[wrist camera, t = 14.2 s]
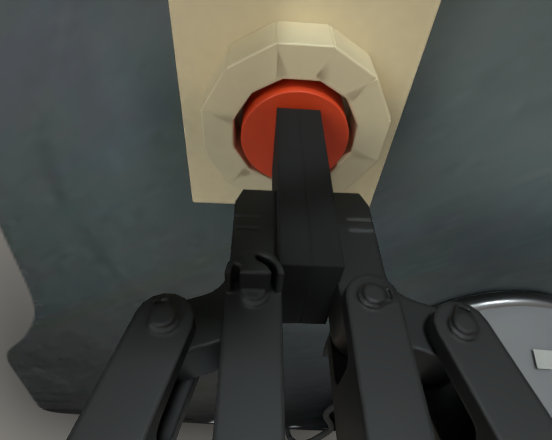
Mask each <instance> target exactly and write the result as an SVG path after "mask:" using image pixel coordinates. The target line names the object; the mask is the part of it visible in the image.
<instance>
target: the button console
mask: <svg viewBox="0 0 552 440" xmlns="http://www.w3.org/2000/svg"><path fill="white" fill-rule="evenodd" d="M168 2H169V10H170V18H171V26H172V34H173V43H174V51H175V59H176V67H177V76H178V84H179V92H180V100H181V108H182V117H183V125H184V133H185V141H186V149H187V158H188V166H189V174H190V182H191V190H192V199H193V202H204V203H227V204H235V201H236V200H237V198H238V197H239V195H240V194H241V192H242V191H243V189H249V190H271V191H272V177H270V176H267V175H265V174H263V173H262V172H260V171H259V170H257V169H256V168H255V167H254V166H253V165H252V164H251V163H250V162H249V160H248V159H247V157H246V156H245V154H244V151H243V149H242V145H241V128H242V117H243V107H244V104H245V102H246V101H247V99H248V98H249V97H250V95H251V94H252V93H253V92H255V91H257V90H260V89H262V88H264V87H266V86H268V85H270V84H273V83H275V82H277V81H279V80H281V79H295V80H312V81H321V82H322V83H324V84H325V85H327V86H328V87H330V88H331V89H333V90H334V91H336V92H337V93H339V94H340V95H341V99H342V102H343V106H344V110H345V115H346V119H347V123H348V129H349V139H348V144H347V147H346V149H345V152H344V154H343V155H342V157H341V158H340V160H339V161H338V162H337V163H336V164H335V165H334V166H333V167H332V168H330V174H331V181H332V187H333V192H337V193H359V194H360V195H361V196H362V198H363V199H364V200H365V202H366V203H367V204H368V205H369V207H370V204H371V201H372V198H373V195H374V192H375V189H376V186H377V184H378V181H379V178H380V175H381V172H382V169H383V166H384V163H385V161H386V158H387V155H388V152H389V149H390V146H391V143H392V141H393V138H394V135H395V132H396V129H397V126H398V123H399V120H400V118H401V115H402V112H403V109H404V106H405V103H406V100H407V97H408V95H409V92H410V89H411V86H412V83H413V80H414V77H415V74H416V72H417V69H418V66H419V63H420V60H421V57H422V54H423V51H424V49H425V46H426V43H427V40H428V37H429V34H430V31H431V28H432V26H433V23H434V20H435V17H436V14H437V11H438V8H439V5H440V3H441V0H168Z"/></svg>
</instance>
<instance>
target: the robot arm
mask: <svg viewBox="0 0 552 440" xmlns="http://www.w3.org/2000/svg"><path fill="white" fill-rule="evenodd" d="M374 232H375V230H374V226H373V222H372V217H371V213H370V209H369V205H368V204H367V203H366V202H365V200H364V199H363V198H362V196H361V195H360V194H359V193H337V192H333V187H332V181H331V174H330V168H329V162H328V155H327V149H326V142H325V136H324V130H323V123H322V117H321V111H320V110H308V109H291V108H277V112H276V125H275V137H274V150H273V162H272V191H271V190H249V189H243V191H242V192H241V194H240V195H239V197H238V198H237V200H236V201H235V212H234V223H233V234H232V246H231V257H230V261H229V262H228V264H227V267H226V270H225V281H224V283H223V284H222V285H221V286H220V287H219V288H217V289H216V290H214V291H213V292H211V293H208V294H206V295H203V296H199V297H196V298H192V299H188V300H186V299H185V298H183V297H181V296H179V295H176V294H166V293H164V294H160V295H156V296H153V297H151V298H150V299H148V300H147V301H145V302H143V303H142V305H141V306H140V307H139V308H138V310H137V311H136V312H135V314H134V316H133V318H132V320H131V322H130V323H129V325H128V327H127V329H126V331H125V333H124V334H123V336H122V338H121V340H120V342H119V344H118V346H117V347H116V349H115V351H114V353H113V355H112V357H111V358H110V360H109V362H108V364H107V366H106V368H105V370H104V371H103V373H102V375H101V377H100V379H99V381H98V382H97V384H96V386H95V388H94V390H93V392H92V394H91V395H90V397H89V399H88V401H87V403H86V405H85V406H84V408H83V410H82V412H81V414H80V416H79V418H78V420H77V421H76V423H75V425H74V427H73V429H72V431H71V432H70V434H69V436H68V438H67V440H176V438H177V436H178V433H179V430H180V428H181V425H182V422H183V420H184V417H185V414H186V411H187V409H188V406H189V403H190V401H191V398H192V395H193V392H194V390H195V387H196V384H197V382H198V379H199V376H202V375H205V374H208V373H211V372H214V371H217V370H219V373H218V384H217V396H216V407H215V418H214V430H213V440H285V434H286V437H287V439H288V440H295V439H294V438H293V437H292V436H291V433H290V429H285V413H284V372H283V331H282V323H311V324H326V321H327V318H328V315H329V324H330V333H329V336H328V338H327V341H326V344H325V347H324V351H323V356H326V357H327V355H328V356H329V366H330V376H331V386H332V396H333V403H332V404H331V405H329V406H328V407H327V408H326V409H325V410H324V412H323V418H324V420H325V422H326V423H327V425H328V428H327V429H325V430H324V431H322V432H321V433H319V434H318V435H316V436H314V437H312V438H310V439H308V440H321V439H322V438H324V437H326V436H327V435H329V434H330V433H331V432H332V431H333V429H334V424H333V422H332V420H331V419H330V417H329V414H330V413H331V412H333V411H334V416H335V426H336V436H337V440H552V296H551V295H548V294H543V293H538V292H529V291H499V292H489V293H482V294H477V295H471V296H467V297H463V298H459V299H455V300H452V301H447V302H445V303H442V304H440V305H437V306H435V307H431V306H428V305H425V304H422V303H419V302H416V301H413V300H411V299H409V298H406V297H404V296H403V295H401V294H400V293H398V292H397V290H396V288H395V287H394V286H393V285H392V284H391V283H390V282H389V281H388V280H387V277H386V275H385V272H384V267H383V263H382V259H381V255H380V251H379V246H378V242H377V238H376V234H375V233H374Z"/></svg>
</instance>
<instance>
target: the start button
mask: <svg viewBox="0 0 552 440" xmlns="http://www.w3.org/2000/svg"><path fill="white" fill-rule="evenodd" d="M277 108H291V109H308V110H320V111H321V117H322V123H323V130H324V136H325V142H326V149H327V155H328V162H329V168H332V167H333V166H334V165H335V164H336V163H337V162H338V161H339V160H340V158H341V157H342V155H343V154H344V152H345V149H346V147H347V144H348V139H349V129H348V123H347V119H346V115H345V110H344V106H343V102H342V99H341V95H340V94H339V93H337V92H336V91H334V90H333V89H331V88H330V87H328V86H327V85H325V84H324V83H322V82H321V81H312V80H295V79H281V80H279V81H277V82H275V83H273V84H270V85H268V86H266V87H264V88H262V89H260V90H257V91H255V92H253V93H252V94H251V95H250V97H249V98H248V99H247V101H246V102H245V104H244V107H243V117H242V128H241V145H242V149H243V151H244V154H245V156H246V157H247V159H248V160H249V162H250V163H251V164H252V165H253V166H254V167H255V168H256V169H257V170H259V171H260V172H262V173H263V174H265V175H267V176H270V177H272V162H273V150H274V137H275V125H276V112H277Z"/></svg>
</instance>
